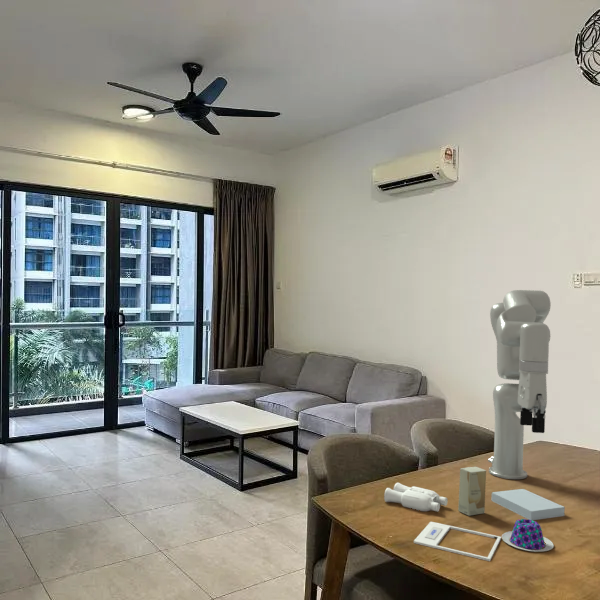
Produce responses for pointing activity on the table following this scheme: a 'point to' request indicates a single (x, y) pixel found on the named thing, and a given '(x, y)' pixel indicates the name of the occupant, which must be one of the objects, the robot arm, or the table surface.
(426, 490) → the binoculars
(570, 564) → the table surface
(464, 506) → the skincare box
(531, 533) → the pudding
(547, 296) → the robot arm
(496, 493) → the pale blue flat board
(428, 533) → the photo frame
